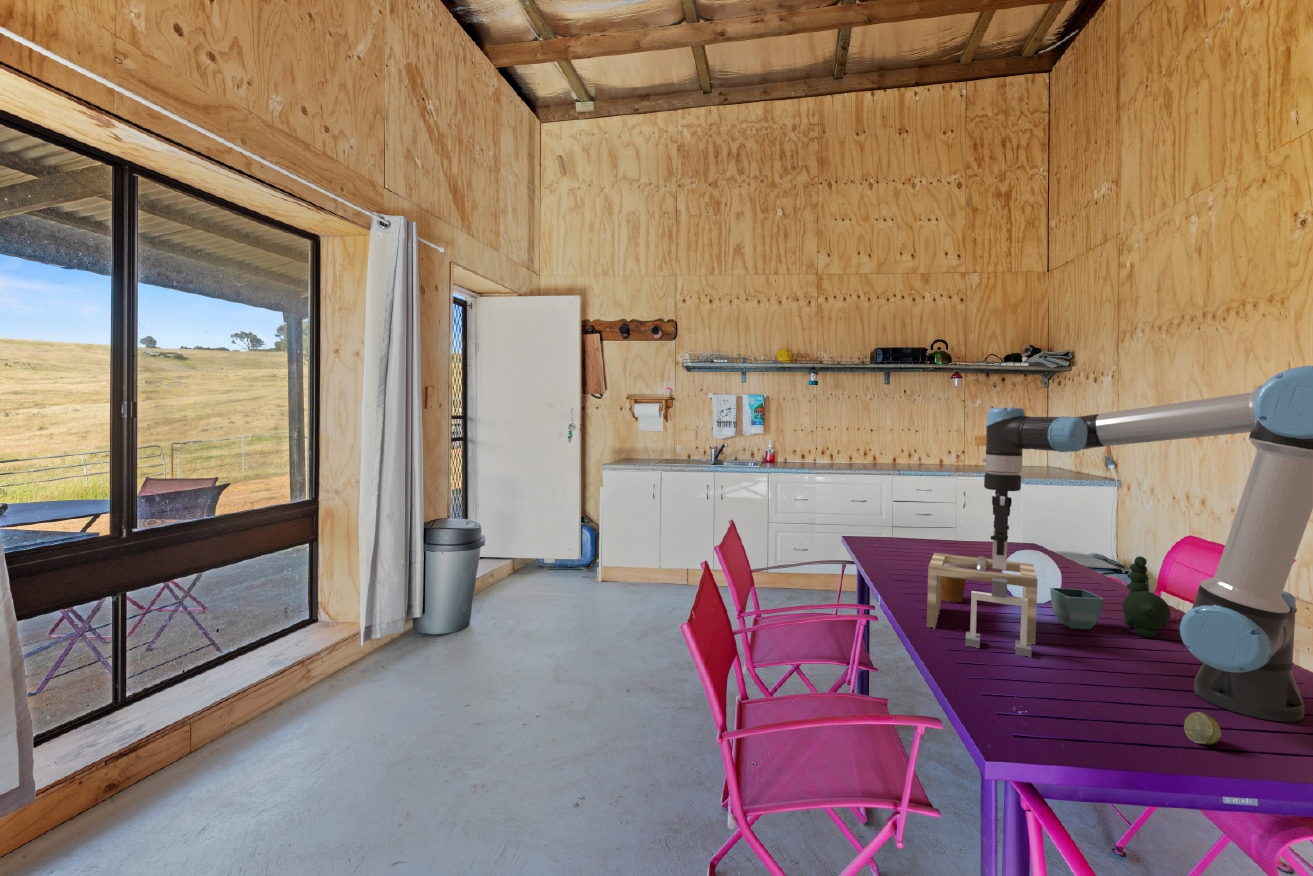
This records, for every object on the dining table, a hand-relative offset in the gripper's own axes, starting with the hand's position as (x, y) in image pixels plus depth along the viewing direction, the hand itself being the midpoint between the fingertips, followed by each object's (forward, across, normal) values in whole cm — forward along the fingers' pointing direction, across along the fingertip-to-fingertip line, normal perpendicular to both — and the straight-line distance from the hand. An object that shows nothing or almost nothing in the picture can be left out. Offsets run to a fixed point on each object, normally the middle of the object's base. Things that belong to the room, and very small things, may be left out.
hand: (998, 562), depth 140 cm
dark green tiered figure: (+21, -35, +34) cm, 53 cm away
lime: (+20, +29, +30) cm, 47 cm away
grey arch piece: (+21, 0, 0) cm, 21 cm away
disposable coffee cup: (+21, -36, -12) cm, 43 cm away
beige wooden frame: (+21, -16, -4) cm, 26 cm away
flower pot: (+21, -28, +18) cm, 39 cm away
